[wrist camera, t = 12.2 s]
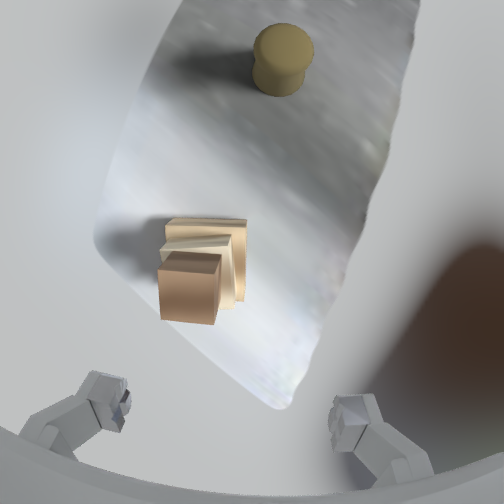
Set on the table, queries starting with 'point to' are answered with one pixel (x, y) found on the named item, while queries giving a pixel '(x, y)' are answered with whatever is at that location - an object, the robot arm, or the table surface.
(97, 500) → the robot arm
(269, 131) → the table surface
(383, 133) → the table surface
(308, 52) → the cork
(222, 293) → the tower mid
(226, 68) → the table surface
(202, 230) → the tower base
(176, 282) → the walnut cube
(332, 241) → the table surface
